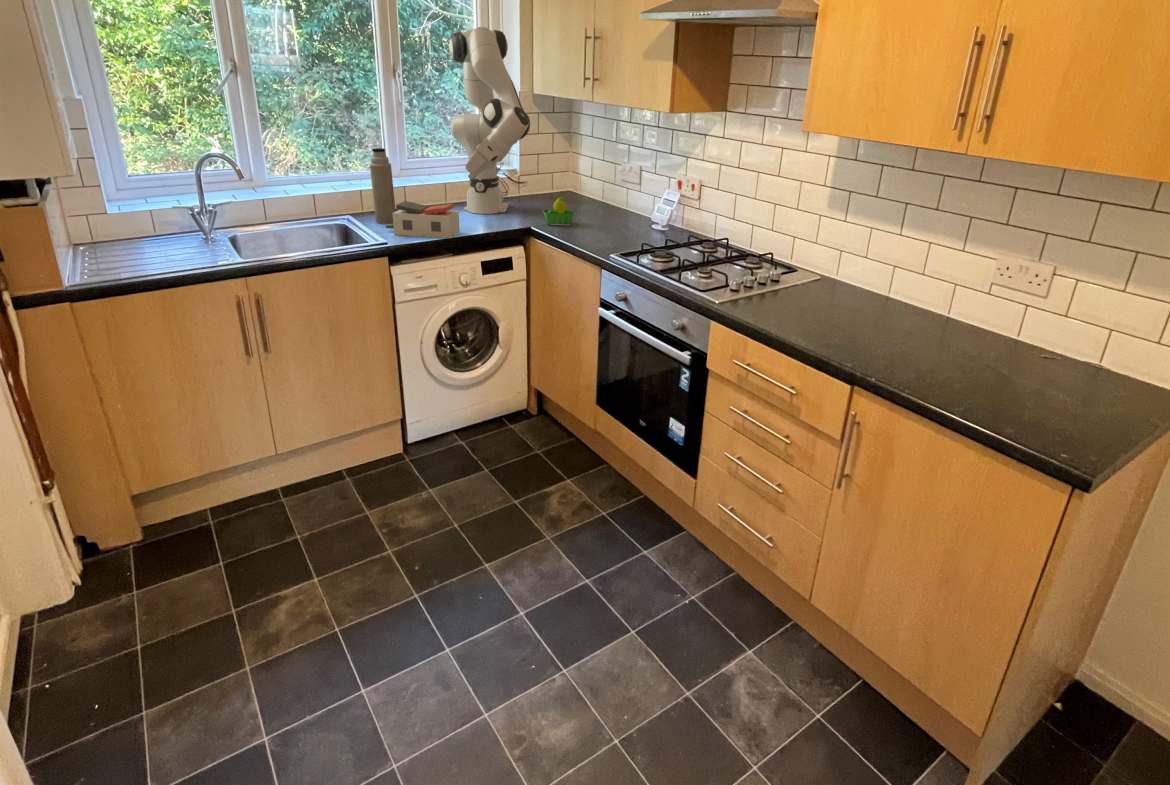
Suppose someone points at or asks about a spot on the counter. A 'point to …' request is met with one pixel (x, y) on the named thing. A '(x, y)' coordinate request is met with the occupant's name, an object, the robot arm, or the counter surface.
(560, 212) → the fruit basket
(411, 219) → the rocker switch box
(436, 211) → the red rocker
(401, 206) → the black rocker
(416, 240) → the counter surface
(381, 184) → the thermos bottle
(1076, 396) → the counter surface
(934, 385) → the counter surface
